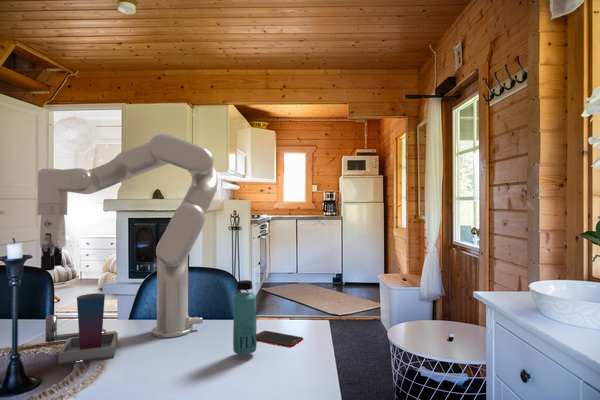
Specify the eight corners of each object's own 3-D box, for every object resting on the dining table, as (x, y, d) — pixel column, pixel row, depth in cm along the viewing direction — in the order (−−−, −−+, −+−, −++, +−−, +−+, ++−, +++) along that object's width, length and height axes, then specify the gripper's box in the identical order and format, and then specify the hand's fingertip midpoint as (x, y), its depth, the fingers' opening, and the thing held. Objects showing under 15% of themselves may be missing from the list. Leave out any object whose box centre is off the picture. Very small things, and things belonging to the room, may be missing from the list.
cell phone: (264, 333, 122) (264, 330, 122) (304, 340, 114) (304, 337, 114) (249, 340, 115) (249, 337, 115) (291, 348, 108) (291, 345, 108)
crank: (106, 332, 120) (106, 309, 120) (104, 337, 115) (104, 313, 115) (47, 338, 114) (48, 314, 114) (43, 343, 109) (43, 319, 110)
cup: (92, 356, 100) (92, 299, 101) (70, 354, 102) (70, 298, 102) (110, 347, 107) (110, 293, 108) (89, 345, 109) (89, 292, 109)
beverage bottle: (237, 362, 97) (236, 283, 98) (229, 353, 103) (229, 279, 104) (260, 357, 100) (260, 281, 101) (252, 349, 106) (251, 277, 107)
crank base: (115, 332, 122) (115, 330, 122) (113, 340, 115) (113, 338, 115) (38, 341, 114) (38, 339, 114) (30, 350, 107) (30, 348, 107)
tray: (117, 342, 113) (117, 332, 113) (113, 357, 101) (113, 346, 101) (68, 348, 108) (68, 338, 108) (58, 365, 96) (58, 353, 96)
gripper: (60, 210, 107) (60, 271, 106) (72, 210, 123) (72, 263, 122) (28, 210, 104) (28, 273, 103) (45, 210, 120) (44, 264, 119)
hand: (51, 267), depth 113 cm, fingers open, 9 cm apart
